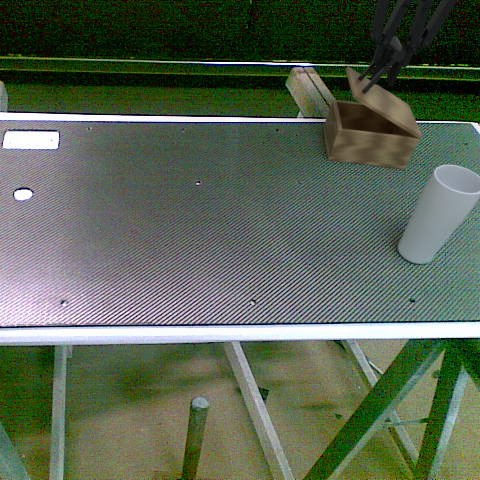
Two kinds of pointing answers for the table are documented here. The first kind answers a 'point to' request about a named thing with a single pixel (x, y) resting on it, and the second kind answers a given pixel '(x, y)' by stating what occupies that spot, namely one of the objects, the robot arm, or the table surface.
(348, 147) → the chest
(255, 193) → the table surface
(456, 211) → the drinking glass
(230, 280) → the table surface
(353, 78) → the chest lid
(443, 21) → the robot arm
